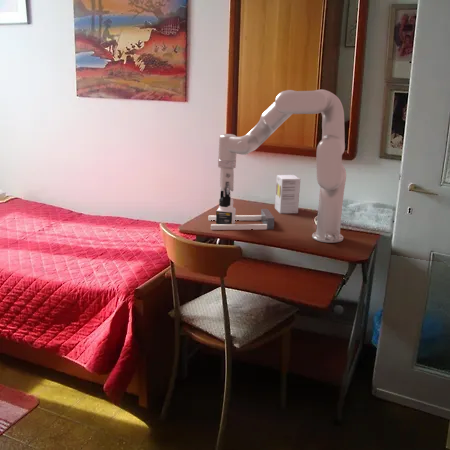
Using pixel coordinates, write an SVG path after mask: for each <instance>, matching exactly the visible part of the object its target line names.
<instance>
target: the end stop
mask: <svg viewBox="0 0 450 450" xmlns="http://www.w3.org/2000/svg"><path fill="white" fill-rule="evenodd" d="M260 211H261V212H260V215H261V216H262V220H261V222H262V224H267V229H266V230H275V217H274V215H273V214H272V212H271V211H270V210H269V209H268V208H261V209H260Z"/></svg>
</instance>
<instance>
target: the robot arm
mask: <svg viewBox="0 0 450 450" xmlns="http://www.w3.org/2000/svg"><path fill="white" fill-rule="evenodd" d="M274 100H275V101H274V102H272V103H271V105H270V106H268V107H267V108H266V109H265V110H264V111H263V112H262V114H261V115H260V118H259V121H258V122H257V123H256V124H255V126H254V127H253V128H251V130H250V131H248V132H247V133H246V134H245V135H242V136H237V135H235V134H233V133H224V134H221V135H220V136H219V139H218V160H217V163H218V164H217V168H219V169H220V175H219V176H220V177H219V179H220V180H219V185H220V186H219V187H220V198H222V197H223V206H230V200H231V198H232V197H231V192H234V183H235V181H234V177H235V176H234V173H235V172H234V170H235V169H237V168H236V167H237V154H238V155H242V156H245V155H248V154H251V153H252V152H254V151H256V150H257V149H258V148H259V147H260V146H261V145H262V144H263V143H264V142H266V141H267V140H268V139H269V138H270V137H271V136H272V135H273V134H274V133H275V132H276V130H277V129H278V128H279V127H281V126H282V125H283V124H284V122H286V121H287V120H288V119H289V118H290V117H291V116H292V115H304V114H305V115H316V114H320V113H321V117H322V119H321V121H322V122H321V129H322V132H321V133H322V134H321V140H320V141H319V142H318V144H317V146H316V154H315V155H316V180H317V183H318V185H319V194H318V196H319V197H318V206H317V217H316V231H315V232H313V233H312V235H311V238H312V239H314V240H315V241H317V242H321V243H329V244H330V243H332V244H334V243H336V244H337V243H340V242H342V241H343V240H344V236H343V235H342V233H341V223H342V215H343V213H342V212H343V204H344V194H345V187H346V180H347V171H346V168H345V166H344V165H343V154H344V152H345V149H346V143H345V141H346V140H345V138H346V137H345V136H346V135H345V111H344V107H343V104H342V102H341V99H340V98H339V97H338V96H337V95H336V94H334V92H331V91H329V90H326V89H315V90H298V91H297V90H293V89H286V90H282V91H280V92H279V93H278V94H277V95H276V97H275V99H274ZM220 198H219V199H220Z"/></svg>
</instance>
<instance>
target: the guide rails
mask: <svg viewBox="0 0 450 450" xmlns="http://www.w3.org/2000/svg"><path fill="white" fill-rule="evenodd" d="M211 220H212V221H213V220H215V222H216V214H215V215H210V214H209V215H208V220H207V221H209V222H210V221H211ZM235 220H236V221H237V220H239V221H262V216H261V214H253V215H252V214H251V215H249V214H248V215H247V214H244V215H243V214H239V215H238V214H235ZM236 221H235V222H236ZM213 222H214V221H213ZM251 229H253V230H256V231H258V230H268V229H267V224H263V223H235V224H216V223H211V224H210V230H211V231H217V230H218V231H221V230H223V231H225V230H226V231H227V230H228V231H229V230H231V231H232V230H234V231H236V230H237V231H240V230H247V231H248V230H251ZM253 230H252V231H253Z"/></svg>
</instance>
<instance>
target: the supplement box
mask: <svg viewBox="0 0 450 450" xmlns="http://www.w3.org/2000/svg"><path fill="white" fill-rule="evenodd" d="M300 188H301V178H300V177H299V176H298V177H297V175H295V174H276V184H275V198H274V200H275V201H274V209H275V210H276V211H277V212H278V214H298V213H299V204H300V190H301V189H300Z"/></svg>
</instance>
